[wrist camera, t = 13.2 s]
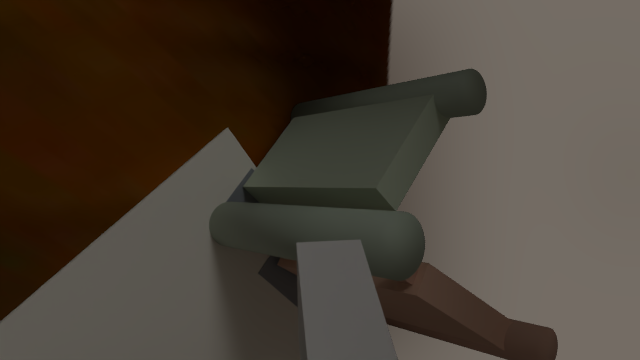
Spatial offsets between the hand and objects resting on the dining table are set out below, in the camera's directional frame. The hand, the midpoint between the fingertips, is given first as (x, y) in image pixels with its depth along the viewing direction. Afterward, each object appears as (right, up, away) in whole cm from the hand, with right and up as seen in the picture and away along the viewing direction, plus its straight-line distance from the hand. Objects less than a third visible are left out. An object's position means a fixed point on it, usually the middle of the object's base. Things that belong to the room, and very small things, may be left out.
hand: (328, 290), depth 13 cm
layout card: (-8, -7, +22) cm, 24 cm away
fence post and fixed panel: (-4, +3, +25) cm, 26 cm away
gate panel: (0, -4, +27) cm, 28 cm away
